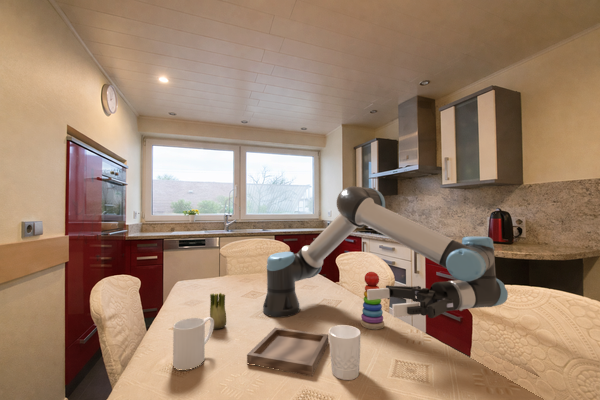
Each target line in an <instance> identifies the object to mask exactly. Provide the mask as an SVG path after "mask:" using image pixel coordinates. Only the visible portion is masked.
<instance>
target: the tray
mask: <svg viewBox="0 0 600 400" xmlns="http://www.w3.org/2000/svg"><path fill="white" fill-rule="evenodd" d="M329 344H330V343H329V333H328V334H326V333H320V332H319V333H318V332H312V331H304V330H297V329H288V328H280V327H274V328H273V329H272V330H270V332H269V333H267V335H265V337H263V339H261V341H260V342H258V344H256V345H255V346H254V347H253V348H252V349H251V350H250V351H249V352H248V353H247V354H246V364H247V363H249V364H255V365H260V366H264V367H263V368H265V367H269V368H268V369H270V368H274V369H273V370H275V369H279V370H278V371H281V370H283V371H282V372H286V371H287V372H286V373H291V372H292V373H293V374H297V375H301V376H302V375H303V376H308V377H313V376H314V373H315V371H316V369H317V367H318V365H319V363H320V361H321V359H322V357H323V354H324V353H325V351H326V349H327V347H328V345H329ZM249 364H248V365H249Z"/></svg>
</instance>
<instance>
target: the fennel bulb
mask: <svg viewBox="0 0 600 400" xmlns="http://www.w3.org/2000/svg"><path fill="white" fill-rule="evenodd" d="M209 297H210V305H209V306H210V307H209V315H210V316H209V317H211V318H213V320H214V328H213V330H221V329H223V328H225V326H226V325H227V312H226V311H227V310H226V294H225V293H222V292H219V293H210V295H209Z"/></svg>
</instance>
